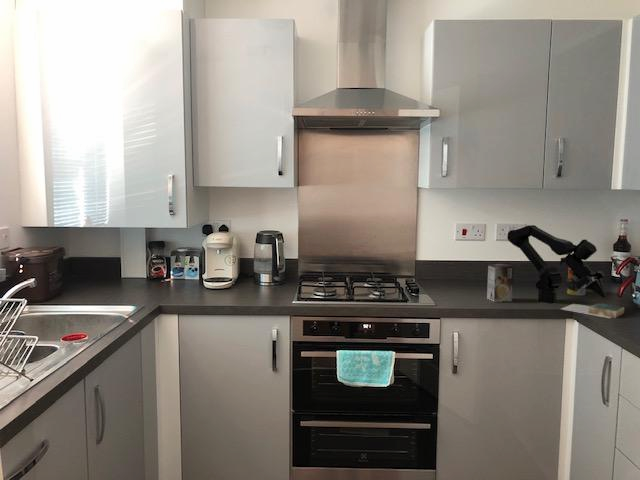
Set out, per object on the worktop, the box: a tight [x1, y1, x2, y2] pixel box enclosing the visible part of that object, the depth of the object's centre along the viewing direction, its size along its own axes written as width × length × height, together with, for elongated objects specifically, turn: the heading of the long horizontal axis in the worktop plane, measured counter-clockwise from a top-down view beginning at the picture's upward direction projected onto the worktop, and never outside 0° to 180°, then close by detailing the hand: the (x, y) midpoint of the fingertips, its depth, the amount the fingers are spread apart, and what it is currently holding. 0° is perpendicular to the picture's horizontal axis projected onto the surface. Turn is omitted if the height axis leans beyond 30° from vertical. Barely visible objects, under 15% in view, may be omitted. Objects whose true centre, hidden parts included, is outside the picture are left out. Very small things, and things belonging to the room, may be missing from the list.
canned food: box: [566, 267, 587, 296], centre depth 249 cm, size 8×8×12 cm
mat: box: [561, 303, 613, 319], centre depth 216 cm, size 19×14×1 cm
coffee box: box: [486, 263, 514, 303], centre depth 234 cm, size 9×6×16 cm
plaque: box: [588, 302, 625, 319], centre depth 211 cm, size 3×10×10 cm
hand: (604, 297), depth 212 cm, fingers closed
